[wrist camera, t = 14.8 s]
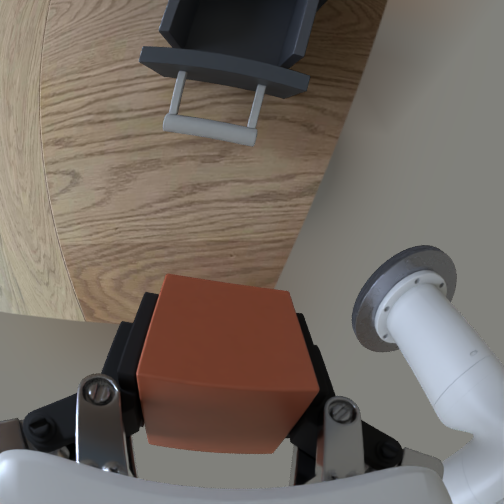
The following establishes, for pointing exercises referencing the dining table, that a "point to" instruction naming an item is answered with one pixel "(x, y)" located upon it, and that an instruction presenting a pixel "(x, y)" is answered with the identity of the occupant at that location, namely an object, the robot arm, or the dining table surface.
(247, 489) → the robot arm
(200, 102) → the dining table surface
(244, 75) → the dark grey drawer
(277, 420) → the block
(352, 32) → the dining table surface
